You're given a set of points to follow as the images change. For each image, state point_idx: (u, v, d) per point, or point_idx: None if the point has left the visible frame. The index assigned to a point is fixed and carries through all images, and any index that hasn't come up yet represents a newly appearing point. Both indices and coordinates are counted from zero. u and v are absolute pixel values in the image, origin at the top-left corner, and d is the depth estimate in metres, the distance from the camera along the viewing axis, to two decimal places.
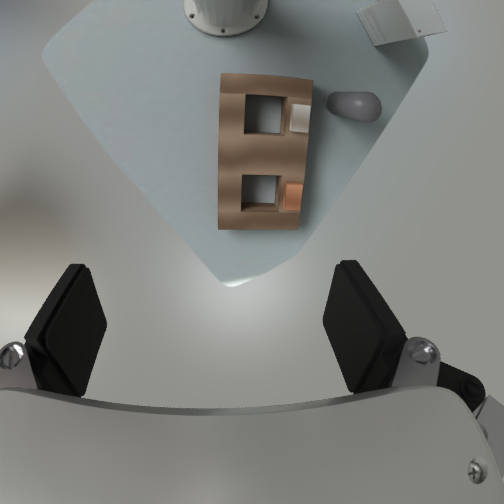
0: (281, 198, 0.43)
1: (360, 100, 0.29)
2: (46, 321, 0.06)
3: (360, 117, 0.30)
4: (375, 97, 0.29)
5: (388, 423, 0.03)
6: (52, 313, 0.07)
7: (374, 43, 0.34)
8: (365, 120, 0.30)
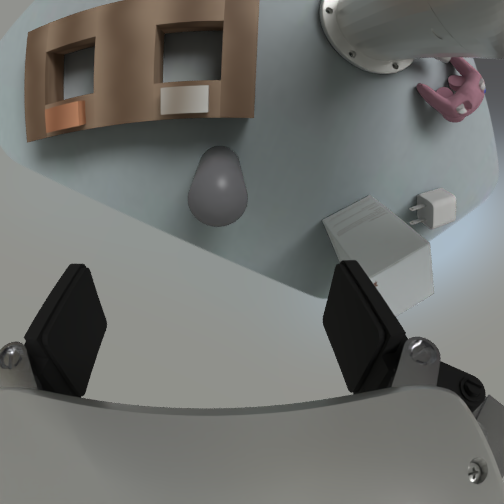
0: (62, 102, 0.20)
1: (228, 182, 0.18)
2: (46, 321, 0.06)
3: (193, 186, 0.18)
4: (239, 212, 0.19)
5: (388, 423, 0.03)
6: (52, 313, 0.07)
7: (327, 219, 0.33)
8: (190, 197, 0.18)
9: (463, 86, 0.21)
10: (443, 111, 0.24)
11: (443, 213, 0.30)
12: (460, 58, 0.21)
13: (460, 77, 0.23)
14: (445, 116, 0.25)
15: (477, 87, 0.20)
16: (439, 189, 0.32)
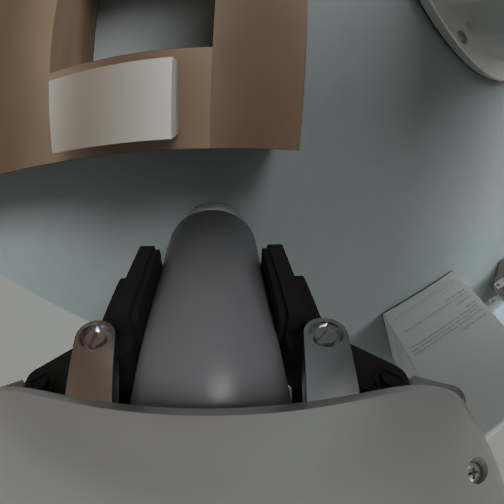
0: None
1: None
2: (133, 298, 0.07)
3: None
4: None
5: (388, 423, 0.03)
6: (137, 290, 0.08)
7: (391, 315, 0.19)
8: None
9: None
10: None
11: None
12: None
13: None
14: None
15: None
16: None
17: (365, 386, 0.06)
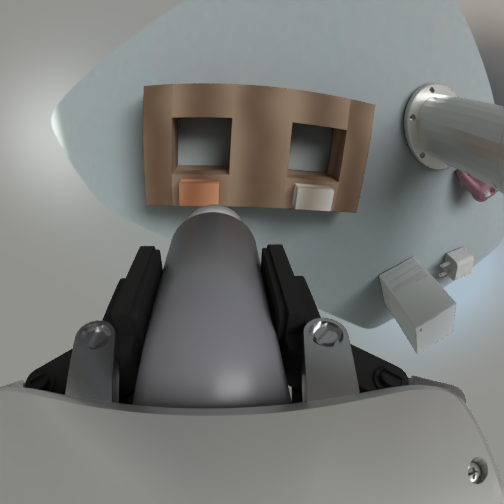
0: (193, 176, 0.28)
1: None
2: (133, 298, 0.07)
3: None
4: None
5: (388, 423, 0.03)
6: (137, 290, 0.08)
7: (382, 275, 0.42)
8: None
9: None
10: (473, 193, 0.32)
11: (463, 269, 0.39)
12: None
13: None
14: (474, 196, 0.33)
15: None
16: (462, 249, 0.41)
17: (365, 386, 0.06)
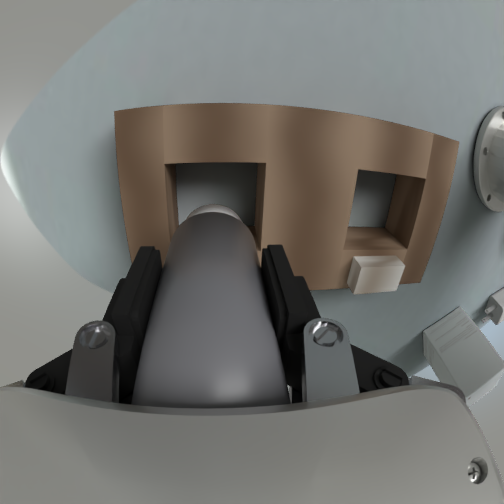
0: None
1: None
2: (133, 298, 0.07)
3: None
4: None
5: (388, 423, 0.03)
6: (137, 290, 0.08)
7: (427, 331, 0.32)
8: None
9: None
10: None
11: None
12: None
13: None
14: None
15: None
16: None
17: (365, 386, 0.06)
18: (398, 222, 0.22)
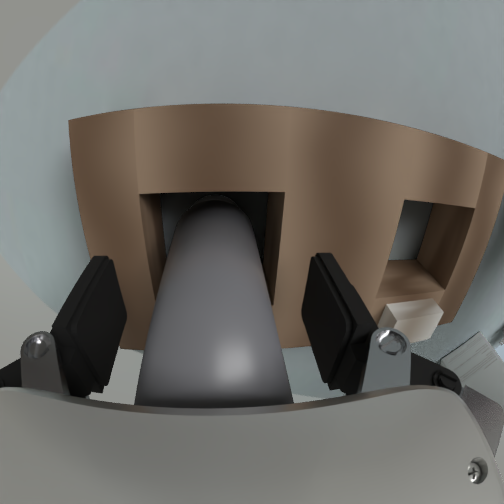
0: None
1: (244, 407, 0.05)
2: (74, 310, 0.07)
3: None
4: None
5: (388, 423, 0.03)
6: (80, 302, 0.07)
7: (446, 360, 0.27)
8: None
9: None
10: None
11: None
12: None
13: None
14: None
15: None
16: None
17: (424, 383, 0.06)
18: (435, 256, 0.17)
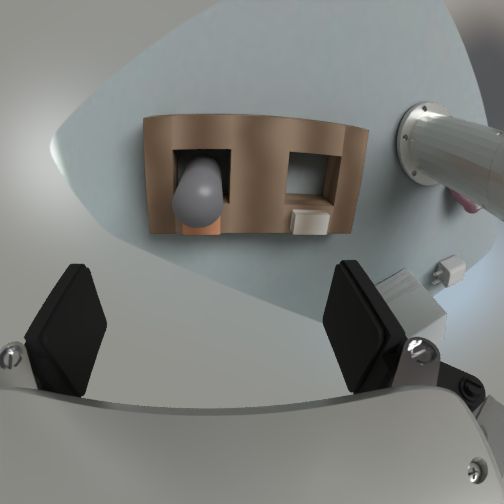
0: None
1: (206, 189, 0.21)
2: (46, 321, 0.06)
3: (177, 193, 0.21)
4: (216, 215, 0.22)
5: (388, 423, 0.03)
6: (52, 313, 0.07)
7: (376, 287, 0.44)
8: (174, 202, 0.21)
9: None
10: (465, 206, 0.35)
11: (456, 276, 0.41)
12: None
13: None
14: (465, 209, 0.36)
15: None
16: (454, 257, 0.43)
17: (452, 387, 0.06)
18: (329, 189, 0.33)
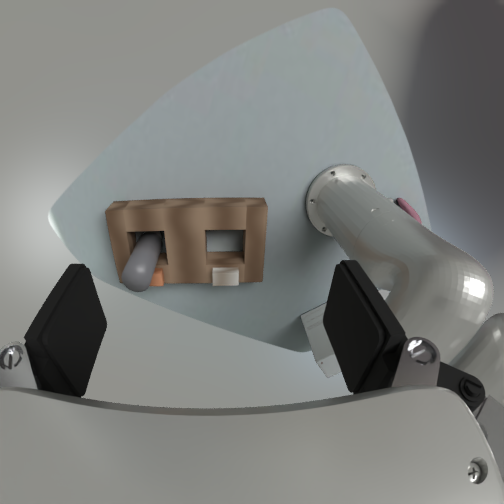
0: None
1: (139, 272, 0.34)
2: (46, 321, 0.06)
3: (123, 273, 0.34)
4: (147, 285, 0.35)
5: (388, 423, 0.03)
6: (52, 313, 0.07)
7: (303, 316, 0.56)
8: (122, 278, 0.34)
9: None
10: None
11: None
12: (405, 205, 0.44)
13: None
14: None
15: None
16: None
17: (452, 387, 0.06)
18: (243, 249, 0.46)
